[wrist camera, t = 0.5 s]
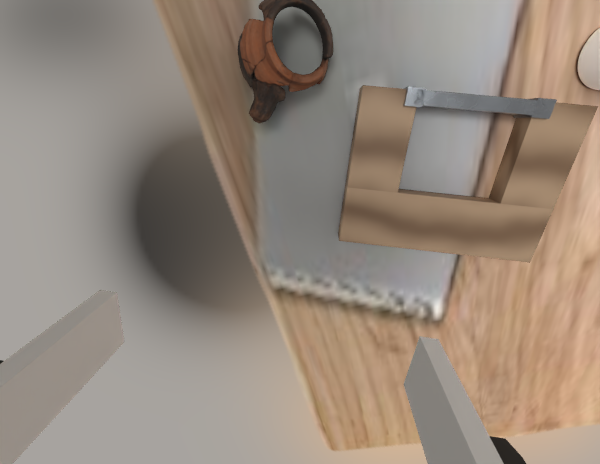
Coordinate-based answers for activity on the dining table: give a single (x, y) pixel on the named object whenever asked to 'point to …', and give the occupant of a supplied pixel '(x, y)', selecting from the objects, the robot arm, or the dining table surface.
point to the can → (590, 62)
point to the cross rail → (480, 103)
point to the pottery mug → (265, 62)
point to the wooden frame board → (455, 208)
